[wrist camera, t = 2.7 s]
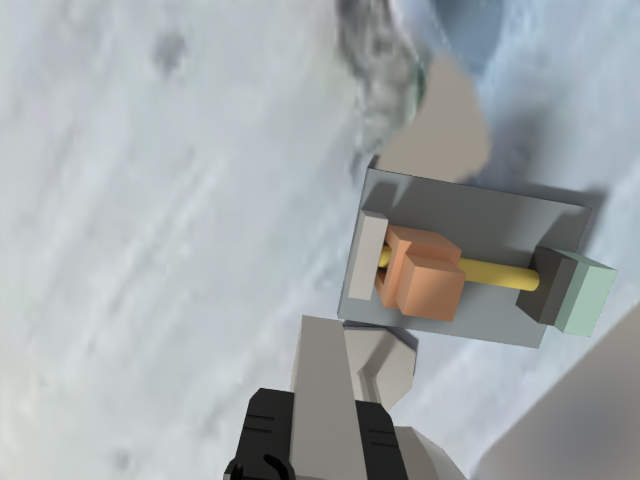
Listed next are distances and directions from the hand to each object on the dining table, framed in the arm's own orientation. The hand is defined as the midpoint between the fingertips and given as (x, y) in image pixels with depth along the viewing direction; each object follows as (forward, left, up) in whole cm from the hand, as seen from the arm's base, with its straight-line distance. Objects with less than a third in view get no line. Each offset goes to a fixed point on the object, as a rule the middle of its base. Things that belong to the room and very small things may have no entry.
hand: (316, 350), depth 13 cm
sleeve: (0, +7, -14) cm, 15 cm away
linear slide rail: (0, +11, -15) cm, 19 cm away
